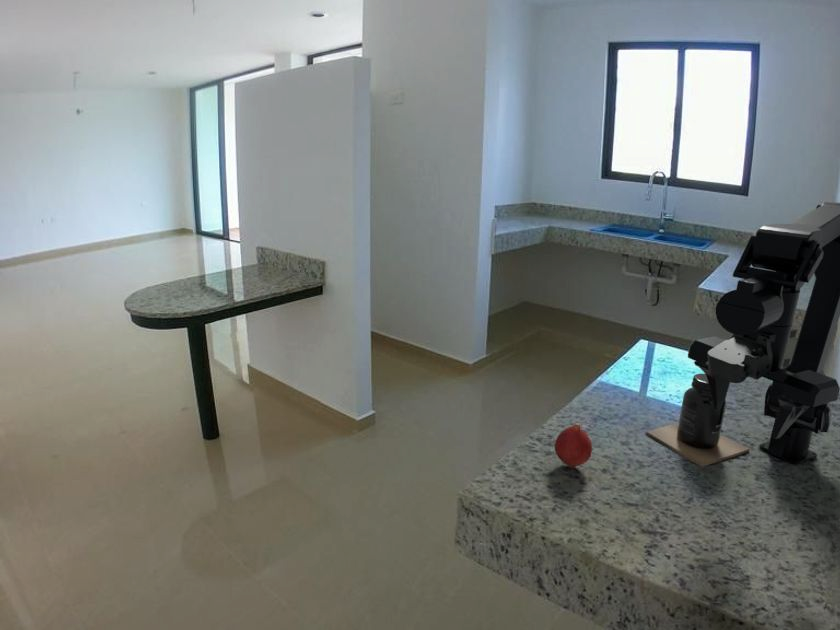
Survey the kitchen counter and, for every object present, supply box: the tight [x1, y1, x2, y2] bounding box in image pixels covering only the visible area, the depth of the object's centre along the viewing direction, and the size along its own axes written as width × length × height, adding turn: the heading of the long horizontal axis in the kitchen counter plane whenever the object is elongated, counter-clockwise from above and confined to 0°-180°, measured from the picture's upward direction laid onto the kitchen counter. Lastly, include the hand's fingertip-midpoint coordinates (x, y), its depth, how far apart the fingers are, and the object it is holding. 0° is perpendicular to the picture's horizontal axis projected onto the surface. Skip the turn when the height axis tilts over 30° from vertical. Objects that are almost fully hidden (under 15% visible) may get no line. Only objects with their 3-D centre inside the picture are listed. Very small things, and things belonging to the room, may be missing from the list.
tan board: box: [645, 422, 750, 468], centre depth 102 cm, size 12×12×1 cm
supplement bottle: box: [677, 373, 728, 449], centre depth 101 cm, size 7×7×12 cm
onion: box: [554, 422, 593, 469], centre depth 93 cm, size 6×6×8 cm
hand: (745, 423), depth 82 cm, fingers open, 9 cm apart
